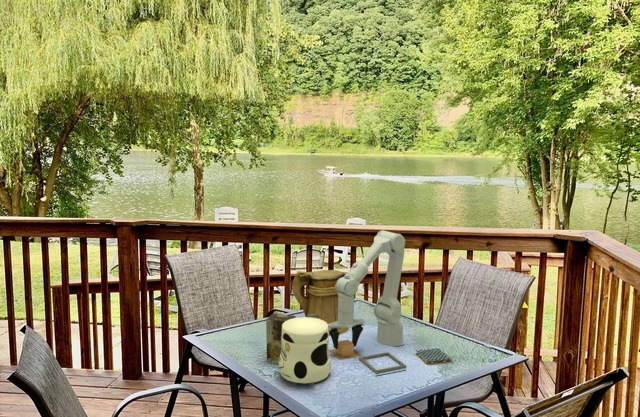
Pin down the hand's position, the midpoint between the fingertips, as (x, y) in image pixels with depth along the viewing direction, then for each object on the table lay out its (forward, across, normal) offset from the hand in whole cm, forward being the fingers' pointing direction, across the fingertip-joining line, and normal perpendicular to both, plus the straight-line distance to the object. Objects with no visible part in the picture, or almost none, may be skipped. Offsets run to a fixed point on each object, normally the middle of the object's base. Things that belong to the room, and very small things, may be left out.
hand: (345, 346), depth 187 cm
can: (+4, -8, +12) cm, 15 cm away
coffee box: (+4, -23, +5) cm, 24 cm away
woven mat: (+4, +29, -14) cm, 33 cm away
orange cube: (+3, 0, 0) cm, 3 cm away
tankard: (+4, +2, +27) cm, 27 cm away
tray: (+3, +8, -13) cm, 16 cm away
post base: (+3, 0, 0) cm, 4 cm away
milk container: (+4, -20, -10) cm, 23 cm away
